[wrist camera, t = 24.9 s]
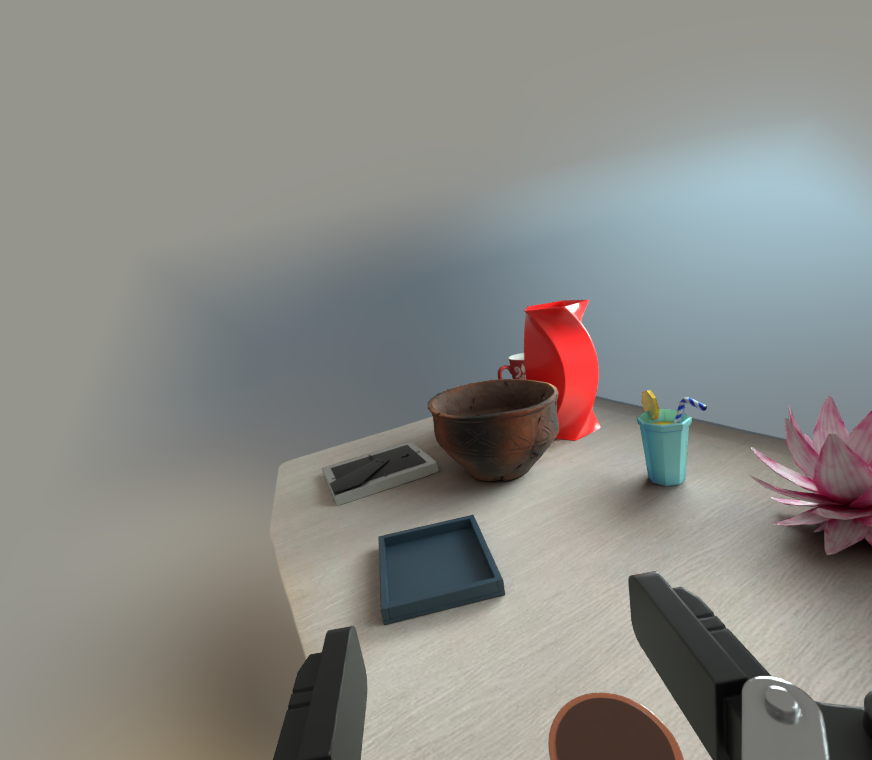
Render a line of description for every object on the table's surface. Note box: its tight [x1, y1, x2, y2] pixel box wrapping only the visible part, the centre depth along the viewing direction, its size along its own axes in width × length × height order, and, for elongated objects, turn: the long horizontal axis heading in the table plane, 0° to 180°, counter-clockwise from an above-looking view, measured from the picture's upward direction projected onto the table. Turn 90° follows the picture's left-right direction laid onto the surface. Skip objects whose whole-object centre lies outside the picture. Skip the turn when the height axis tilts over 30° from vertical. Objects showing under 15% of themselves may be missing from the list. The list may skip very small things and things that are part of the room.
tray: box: [379, 515, 505, 625], centre depth 60 cm, size 15×16×2 cm
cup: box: [637, 390, 707, 486], centre depth 70 cm, size 14×8×15 cm, turn 16°
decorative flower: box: [750, 396, 872, 555], centre depth 52 cm, size 21×21×15 cm
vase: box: [524, 300, 601, 440], centre depth 97 cm, size 15×14×28 cm
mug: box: [498, 353, 526, 380], centre depth 121 cm, size 13×9×14 cm
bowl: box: [428, 379, 559, 481], centre depth 85 cm, size 25×25×15 cm
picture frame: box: [322, 441, 439, 506], centre depth 93 cm, size 16×3×21 cm
